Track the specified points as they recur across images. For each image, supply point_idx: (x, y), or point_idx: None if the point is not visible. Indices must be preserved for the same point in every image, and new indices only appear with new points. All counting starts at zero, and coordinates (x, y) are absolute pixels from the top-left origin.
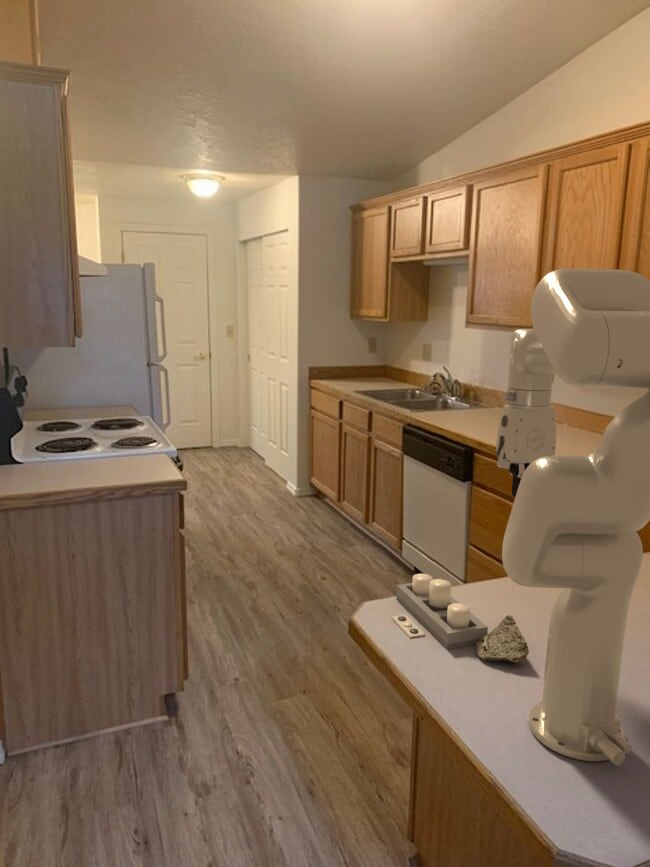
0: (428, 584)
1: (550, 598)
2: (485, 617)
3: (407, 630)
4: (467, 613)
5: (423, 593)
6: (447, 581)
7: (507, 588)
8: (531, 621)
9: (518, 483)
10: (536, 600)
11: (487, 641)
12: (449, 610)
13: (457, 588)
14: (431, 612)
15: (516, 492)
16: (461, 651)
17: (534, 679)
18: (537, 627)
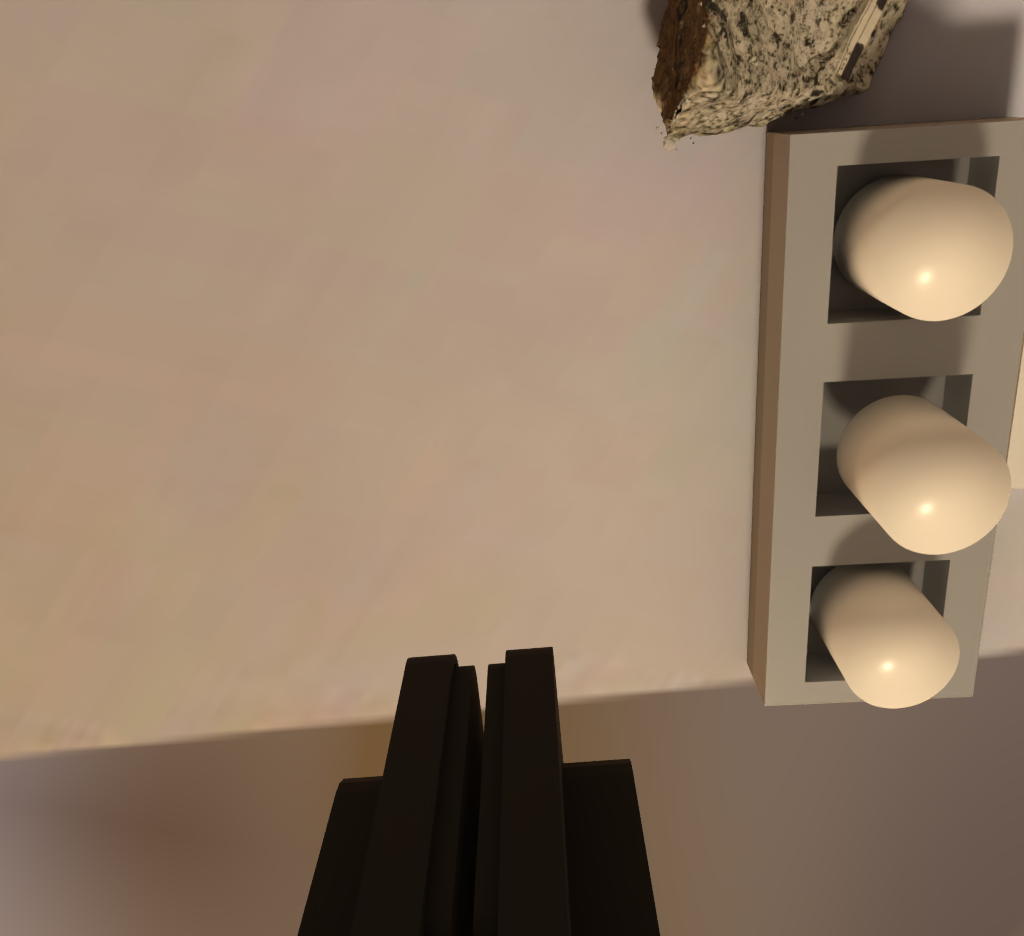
0: (892, 601)
1: (163, 493)
2: (616, 384)
3: None
4: (925, 189)
5: (898, 579)
6: (885, 511)
7: (332, 636)
8: (402, 289)
9: (643, 898)
10: (250, 490)
11: (841, 39)
12: (1010, 247)
13: (584, 686)
14: (987, 373)
15: (633, 777)
16: (947, 80)
17: None
18: (406, 221)
